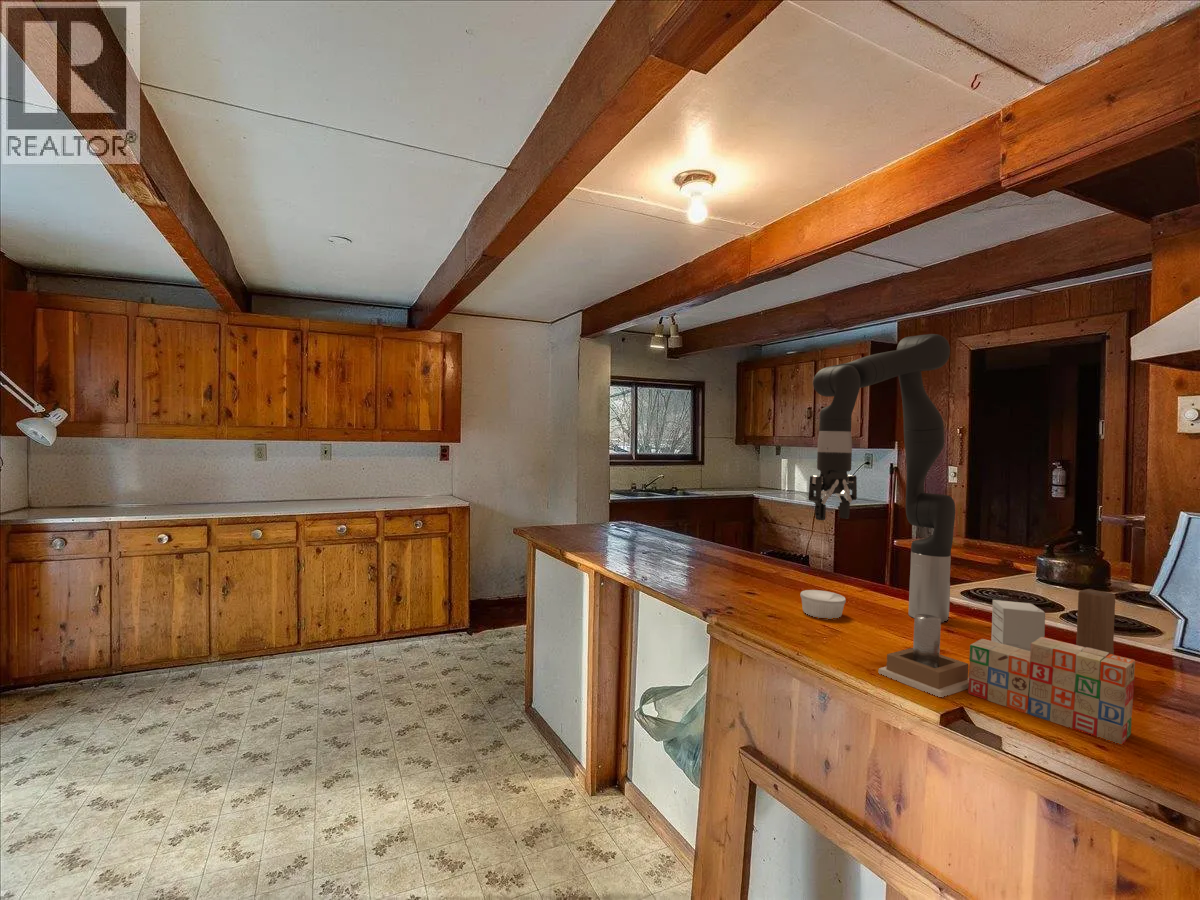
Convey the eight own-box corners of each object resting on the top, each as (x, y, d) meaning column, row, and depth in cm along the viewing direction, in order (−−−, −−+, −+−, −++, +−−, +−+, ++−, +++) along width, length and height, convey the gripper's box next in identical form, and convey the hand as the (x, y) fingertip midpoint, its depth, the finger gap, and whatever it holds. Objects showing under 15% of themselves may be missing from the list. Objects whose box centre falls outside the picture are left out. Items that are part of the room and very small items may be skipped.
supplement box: (1029, 661, 122) (1032, 602, 122) (1044, 674, 115) (1046, 612, 115) (989, 656, 124) (991, 598, 124) (1001, 668, 117) (1003, 607, 117)
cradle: (913, 663, 118) (914, 644, 118) (975, 685, 108) (976, 664, 108) (878, 673, 112) (879, 653, 112) (940, 698, 102) (941, 675, 101)
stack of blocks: (966, 694, 104) (969, 627, 104) (980, 686, 108) (982, 622, 107) (1123, 746, 87) (1127, 666, 87) (1132, 735, 91) (1136, 658, 90)
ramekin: (852, 622, 146) (852, 601, 146) (808, 620, 146) (809, 599, 146) (834, 609, 157) (835, 590, 157) (794, 607, 157) (794, 588, 157)
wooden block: (1092, 674, 116) (1096, 586, 116) (1121, 682, 112) (1125, 591, 112) (1073, 682, 111) (1077, 590, 111) (1103, 691, 107) (1107, 596, 107)
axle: (920, 668, 113) (922, 612, 113) (943, 676, 109) (945, 619, 109) (907, 671, 111) (909, 615, 111) (930, 680, 107) (932, 622, 107)
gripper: (828, 450, 128) (825, 523, 128) (867, 451, 135) (865, 519, 135) (800, 450, 134) (799, 518, 134) (840, 450, 141) (838, 515, 141)
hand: (832, 519), depth 135 cm, fingers open, 8 cm apart
